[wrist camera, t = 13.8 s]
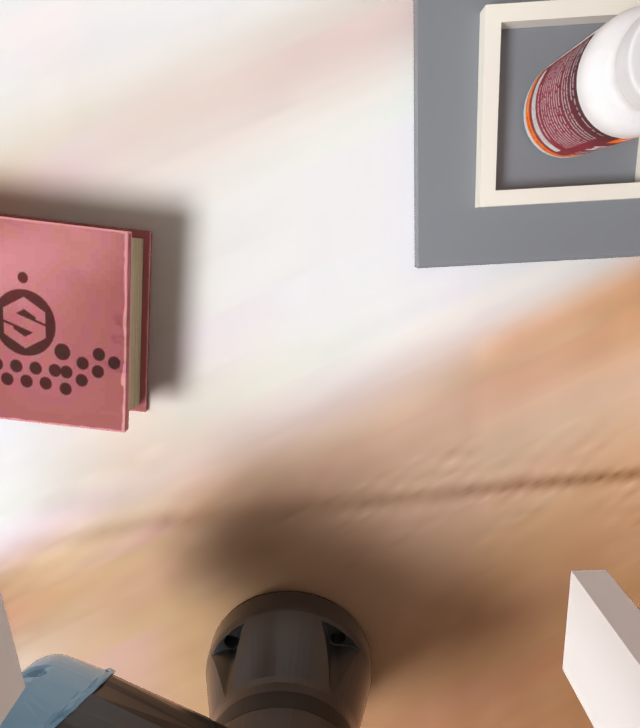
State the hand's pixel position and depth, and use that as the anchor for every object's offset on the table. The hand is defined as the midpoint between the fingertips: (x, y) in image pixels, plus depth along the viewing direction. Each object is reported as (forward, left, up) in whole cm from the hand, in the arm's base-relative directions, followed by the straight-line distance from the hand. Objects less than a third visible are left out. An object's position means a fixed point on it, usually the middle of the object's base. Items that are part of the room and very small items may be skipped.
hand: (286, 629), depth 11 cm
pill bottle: (+16, -18, -27) cm, 36 cm away
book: (+4, +20, -29) cm, 36 cm away
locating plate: (+16, -18, -29) cm, 37 cm away
